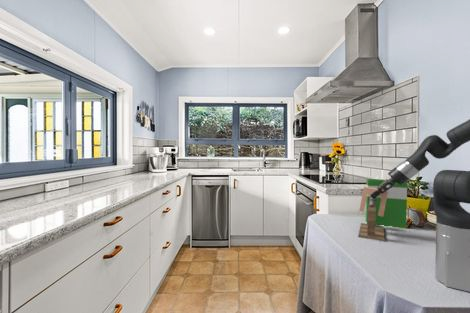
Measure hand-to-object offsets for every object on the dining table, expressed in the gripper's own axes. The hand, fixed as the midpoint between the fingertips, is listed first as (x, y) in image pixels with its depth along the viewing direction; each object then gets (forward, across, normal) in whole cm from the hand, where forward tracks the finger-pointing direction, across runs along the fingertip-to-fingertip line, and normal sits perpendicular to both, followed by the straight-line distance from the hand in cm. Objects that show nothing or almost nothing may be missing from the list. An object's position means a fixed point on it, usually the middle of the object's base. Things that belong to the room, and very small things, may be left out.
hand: (371, 196), depth 112 cm
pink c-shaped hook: (+6, 0, -6) cm, 8 cm away
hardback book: (+8, +20, -17) cm, 28 cm away
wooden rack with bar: (+12, 0, -12) cm, 17 cm away
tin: (-2, +30, -27) cm, 40 cm away
